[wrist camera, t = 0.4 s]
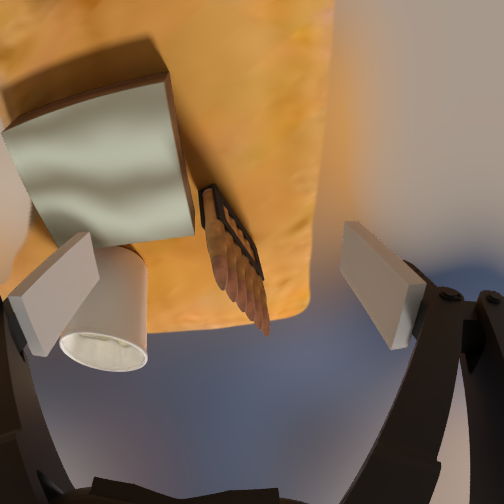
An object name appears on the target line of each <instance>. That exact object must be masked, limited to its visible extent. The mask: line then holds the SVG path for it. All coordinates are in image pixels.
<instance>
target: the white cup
mask: <svg viewBox="0 0 504 504" xmlns="http://www.w3.org/2000/svg"><path fill="white" fill-rule="evenodd" d="M93 251H94V255H95V260H96V264H97V269H98V273H99V277H100V279H99V281H98V282H97V283H96V285H95V286H94V287H93V289H92V290H91V291H90V293H89V294H88V296H87V297H86V298H85V300H84V301H83V303H82V304H81V305H80V307H79V308H78V310H77V311H76V313H75V314H74V316H73V317H72V318H71V320H70V321H69V323H68V324H67V326H66V327H65V329H64V330H63V332H62V335H61V337H60V342H59V343H60V347H61V349H62V350H63V352H64V353H65V354H66V355H68V356H69V357H70V358H72V359H73V360H75V361H77V362H79V363H81V364H84V365H86V366H89V367H92V368H96V369H100V370H106V371H117V372H123V371H132V370H136V369H138V368H141V367H142V366H144V365H145V364H146V362H147V359H148V357H147V286H148V271H147V266H146V264H145V262H144V261H143V259H142V258H141V257H140V256H139V255H137V254H136V253H134V252H133V251H131V250H129V249H126V248H123V247H119V246H110V247H103V248H96V249H94V250H93Z"/></svg>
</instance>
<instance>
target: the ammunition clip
mask: <svg viewBox="0 0 504 504" xmlns="http://www.w3.org/2000/svg"><path fill="white" fill-rule="evenodd" d="M198 195H199V206H200V216H201V225H202V227H203V229H204V230H205V232H206V241H207V248H208V252H209V254H210V258H211V263H212V269H213V273H214V277H215V280H216V282H217V284H218V286H219V287H220V289H221V290H222V291H224V290H225V289H226V292H227V294H228V296H229V298H230V299H231V300H232V302H235V301H236V303H237V305H238V307H239V308H240V310H241V311H242V312H245V313H246V315H247V317H248V318H249V319H250V320H251V321H254V323H255V325H256V326H257V327H258V329H261V330H262V332H263V333H264V335H265V336H266V337H268V336H269V331H270V321H269V314H268V308H267V299H266V293H265V289H264V285H263V281H264V276H263V272H262V268H261V264H260V260H259V256H258V252H257V248H256V246H255V245H254V243H253V242H252V240H251V239H250V237H249V236H248V234H247V233H246V231H245V229H244V228H243V226H242V225H241V223H240V222H239V220H238V219H237V217H236V216H235V214H234V213H233V211H232V209H231V208H230V206H229V205H228V203H227V202H226V200H225V199H224V197H223V196H222V194H221V193H220V191H219V189H218V188H217V186H216V185H215V184H212V185H210V186H208V187H206V188H204V189H202V190H200V191H198Z"/></svg>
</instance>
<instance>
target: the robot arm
mask: <svg viewBox="0 0 504 504" xmlns="http://www.w3.org/2000/svg"><path fill="white" fill-rule="evenodd" d="M340 272H341V273H342V275H343V276H344V278H345V279H346V281H347V282H348V284H349V285H350V287H351V288H352V290H353V291H354V293H355V294H356V296H357V297H358V299H359V300H360V302H361V304H362V305H363V306H364V308H365V310H366V311H367V313H368V314H369V316H370V318H371V319H372V321H373V322H374V324H375V325H376V327H377V329H378V330H379V332H380V333H381V335H382V337H383V338H384V340H385V342H386V343H387V345H388V346H389V348H390V350H393V349H399V348H405V347H408V345H409V341H410V339H411V335H412V334H413V336H414V337H415V338H416V340H417V342H416V345H415V347H414V350H413V353H412V355H411V358H410V361H409V364H408V367H407V370H406V372H405V375H404V378H403V380H402V383H401V385H400V388H399V390H398V393H397V395H396V398H395V400H394V402H393V405H392V407H391V409H390V411H389V414H388V416H387V418H386V420H385V422H384V425H383V426H382V428H381V431H380V433H379V435H378V437H377V439H376V441H375V443H374V445H373V447H372V448H371V450H370V452H369V454H368V456H367V458H366V460H365V462H364V463H363V465H362V467H361V469H360V471H359V472H358V474H357V476H356V477H355V479H354V481H353V482H352V484H351V486H350V487H349V489H348V491H347V492H346V494H345V495H344V497H343V498H342V500H341V501H340V503H339V504H429V502H430V500H431V497H432V494H433V492H434V489H435V486H436V483H437V481H438V478H439V474H440V470H441V462H438V461H437V456H438V452H439V449H440V446H441V442H442V438H443V435H444V431H445V428H446V424H447V420H448V415H449V411H450V407H451V402H452V397H453V392H454V387H455V381H456V375H457V369H458V362H459V358H460V364H461V369H462V376H463V382H464V388H465V397H466V405H467V414H468V426H469V441H470V503H469V504H504V297H503V296H502V295H500V294H499V293H496V292H495V291H489V290H484V291H481V292H480V294H479V297H478V300H477V302H471V301H464V297H463V296H462V295H461V293H459V292H458V291H456V290H454V289H451V288H448V287H437V286H436V285H435V284H434V283H433V282H432V281H431V280H430V279H428V278H427V277H426V276H424V274H423V273H422V272H421V271H420V270H419V269H418V268H416V267H415V266H414V265H413V264H411V263H409V262H407V261H405V260H402V259H400V258H399V257H398V256H397V255H396V254H395V253H394V252H393V251H392V250H391V249H389V248H388V247H387V246H386V245H385V244H384V243H383V242H381V241H380V240H379V239H378V238H377V237H376V236H375V235H374V234H372V233H371V232H370V231H369V230H368V229H367V228H365V227H364V226H363V225H362V224H361V223H360V222H358V221H345V222H344V233H343V243H342V252H341V262H340ZM99 279H100V277H99V273H98V269H97V264H96V260H95V255H94V251H93V246H92V241H91V236H90V232H78V233H77V234H75V235H74V236H73V237H72V238H71V239H69V240H68V241H67V242H66V243H65V244H63V245H62V246H61V247H60V248H59V249H58V250H56V251H55V252H54V253H53V254H52V255H51V256H50V257H48V258H47V259H46V260H45V261H44V262H43V263H42V264H41V265H40V266H38V267H37V268H36V269H35V270H34V271H33V272H32V273H31V274H30V275H29V276H28V277H27V278H25V279H24V280H23V281H22V282H21V283H20V284H19V285H18V286H17V287H16V288H15V289H14V290H13V291H12V292H11V293H10V294H9V295H8V297H7V298H6V299H5V300H4V301H3V302H2V299H1V296H0V504H308V503H304V502H301V501H297V500H291V499H286V498H279V491H278V488H270V489H254V490H229V491H225V492H220V493H216V494H210V495H205V496H200V497H194V498H188V499H176V498H172V497H169V496H165V495H163V494H160V493H157V492H154V491H151V490H149V489H146V488H143V487H140V486H138V485H135V484H130V483H124V482H118V481H113V480H108V479H103V478H98V477H94V479H93V483H92V487H86V488H79V489H75V488H74V486H73V485H72V483H71V481H70V480H69V478H68V475H67V473H66V471H65V469H64V467H63V465H62V462H61V460H60V458H59V456H58V453H57V451H56V448H55V446H54V443H53V441H52V438H51V436H50V433H49V430H48V428H47V425H46V422H45V419H44V416H43V414H42V410H41V407H40V404H39V401H38V397H37V394H36V391H35V387H34V384H33V380H32V376H31V372H30V368H29V364H28V360H27V356H26V354H25V352H24V350H23V348H24V347H25V345H26V344H28V346H29V348H30V350H31V352H32V354H33V355H37V356H45V357H47V355H48V353H49V352H50V350H51V349H52V347H53V346H54V344H55V342H56V341H57V340H58V338H59V336H60V335H61V333H62V332H63V330H64V329H65V327H66V326H67V324H68V323H69V321H70V320H71V318H72V317H73V316H74V314H75V313H76V311H77V310H78V308H79V307H80V305H81V304H82V303H83V301H84V300H85V298H86V297H87V296H88V294H89V293H90V291H91V290H92V289H93V287H94V286H95V285H96V283H97V282H98V281H99Z"/></svg>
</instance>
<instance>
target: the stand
mask: <svg viewBox="0 0 504 504" xmlns="http://www.w3.org/2000/svg"><path fill="white" fill-rule="evenodd" d="M1 134H2V137H3V139H4V141H5V143H6V146H7V149H8V151H9V153H10V156H11V158H12V160H13V163H14V165H15V167H16V169H17V171H18V173H19V176H20V177H21V180H22V182H23V184H24V186H25V188H26V190H27V192H28V194H29V196H30V198H31V200H32V202H33V204H34V205H35V207H36V209H37V211H38V213H39V215H40V216H41V218H42V220H43V222H44V224H45V225H46V227H47V229H48V231H49V232H50V234H51V236H52V237H53V239H54V241H55V242H56V244H57V246H58V247H59V248H60V247H61V246H62V245H63V244H65V243H66V242H67V241H68V240H69V239H71V238H72V237H73V236H74V235H75V234H77V233H78V232H90V236H91V241H92V246H93V249H96V248H103V247H110V246H117V245H125V244H132V243H139V242H147V241H154V240H162V239H169V238H177V237H185V236H193V235H195V210H194V205H193V201H192V196H191V191H190V186H189V181H188V176H187V171H186V166H185V160H184V155H183V150H182V144H181V139H180V133H179V128H178V122H177V116H176V110H175V105H174V99H173V92H172V86H171V80H170V73H169V72H164V73H159V74H154V75H149V76H144V77H140V78H135V79H131V80H127V81H123V82H119V83H115V84H111V85H107V86H103V87H100V88H96V89H93V90H90V91H86V92H83V93H80V94H77V95H74V96H71V97H68V98H65V99H62V100H59V101H56V102H54V103H51V104H48V105H46V106H43V107H40V108H38V109H35V110H33V111H31V112H28V113H26V114H23V115H21V116H19V117H18V118H17V119H15V120H14V121H13V122H12V123H11V124H10V125H9V126H8V127H7V128H6V129H5V130H4V131H3V132H2V133H1Z"/></svg>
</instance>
